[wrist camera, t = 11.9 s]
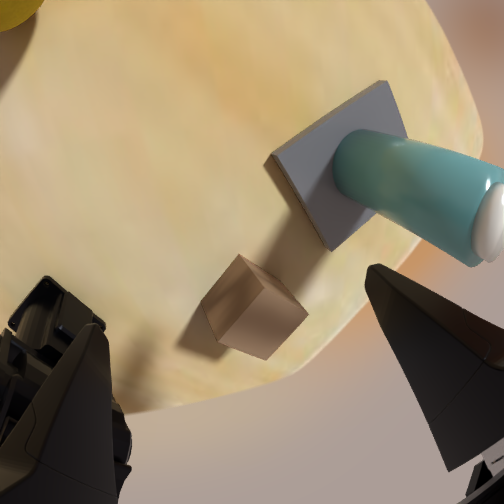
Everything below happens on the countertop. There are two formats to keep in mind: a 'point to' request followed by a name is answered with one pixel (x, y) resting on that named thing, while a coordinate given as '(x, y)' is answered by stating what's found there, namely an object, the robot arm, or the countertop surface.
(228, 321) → the walnut block
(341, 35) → the countertop surface
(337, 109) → the slate coaster
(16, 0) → the lemon
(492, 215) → the spice jar
